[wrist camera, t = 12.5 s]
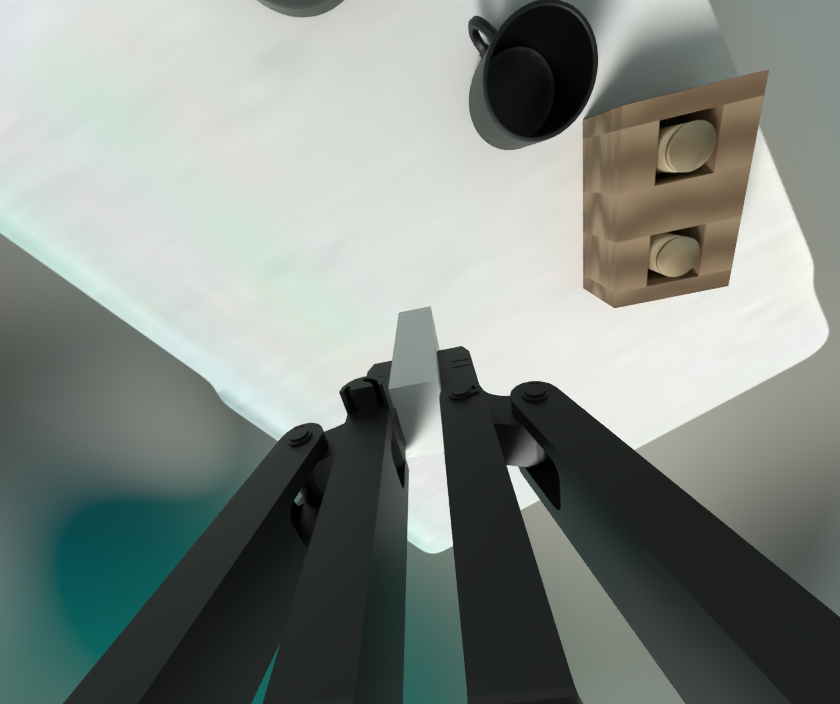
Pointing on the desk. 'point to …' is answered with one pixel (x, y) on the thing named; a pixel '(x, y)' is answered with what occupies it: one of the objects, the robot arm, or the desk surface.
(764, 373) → the desk surface
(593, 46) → the mug
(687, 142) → the peg
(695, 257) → the peg
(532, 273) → the desk surface
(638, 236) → the walnut block
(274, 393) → the desk surface
